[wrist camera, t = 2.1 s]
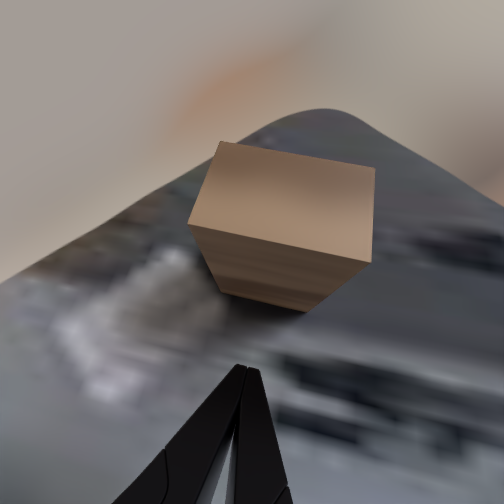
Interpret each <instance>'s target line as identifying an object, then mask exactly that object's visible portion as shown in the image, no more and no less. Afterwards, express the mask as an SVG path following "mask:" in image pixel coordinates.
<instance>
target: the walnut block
mask: <svg viewBox="0 0 504 504" xmlns="http://www.w3.org/2000/svg"><path fill="white" fill-rule="evenodd" d="M374 182H375V168H372V167H366V166H360V165H354V164H349V163H343V162H337V161H332V160H326V159H320V158H315V157H309V156H303V155H298V154H292V153H286V152H281V151H275V150H269V149H263V148H258V147H252V146H246V145H241V144H235V143H229V142H223V141H220V142H219V145H218V148H217V150H216V153H215V155H214V157H213V160H212V163H211V165H210V168H209V170H208V173H207V175H206V178H205V180H204V183H203V185H202V188H201V190H200V193H199V195H198V198H197V200H196V203H195V205H194V208H193V211H192V213H191V216H190V218H189V221H188V223H187V224H188V226H189V228H190V230H191V232H192V234H193V236H194V238H195V240H196V242H197V244H198V246H199V248H200V250H201V252H202V255H203V257H204V259H205V261H206V263H207V265H208V267H209V269H210V271H211V273H212V275H213V277H214V279H215V281H216V283H217V285H218V287H219V289H220V291H221V292H222V293H226V294H230V295H234V296H238V297H243V298H247V299H251V300H255V301H260V302H264V303H268V304H272V305H277V306H281V307H285V308H289V309H293V310H298V311H302V312H306V313H307V312H309V311H310V310H311V309H312V308H314V307H315V306H316V305H318V304H319V303H320V302H321V301H323V300H324V299H325V298H326V297H328V296H329V295H330V294H332V293H333V292H334V291H335V290H337V289H338V288H339V287H340V286H342V285H343V284H344V283H346V282H347V281H348V280H349V279H351V278H352V277H353V276H354V275H356V274H357V273H358V272H360V271H361V270H362V269H363V268H365V267H366V266H367V265H368V264H370V263H371V251H372V228H373V205H374Z"/></svg>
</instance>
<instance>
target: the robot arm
mask: <svg viewBox="0 0 504 504" xmlns="http://www.w3.org/2000/svg"><path fill="white" fill-rule="evenodd" d="M235 424H236V425H235ZM234 429H235V430H234ZM233 433H234V435H233ZM232 437H233V441H232ZM231 441H232V448H231V457H230V465H229V474H228V483H227V492H226V500H225V504H293V501H292V497H291V493H290V489H289V487H288V486H287V485H288V482H287V478H286V474H285V470H284V466H283V462H282V458H281V454H280V450H279V446H278V442H277V438H276V434H275V430H274V426H273V422H272V418H271V414H270V410H269V406H268V402H267V398H266V393H265V389H264V385H263V381H262V377H261V373H260V371H259V369H255V368H252V367H248V369H247V366H244V365H240V364H236V365H235V366H234V367H233V368H232V369H231V370H230V372H229V373H228V374H227V375H226V376H225V377H224V379H223V380H222V381H221V382H220V383H219V384H218V385H217V387H216V388H215V389H214V390H213V391H212V392H211V394H210V395H209V396H208V397H207V398H206V399H205V401H204V402H203V403H202V404H201V405H200V406H199V408H198V409H197V410H196V411H195V412H194V413H193V414H192V416H191V417H190V418H189V419H188V420H187V421H186V423H185V424H184V425H183V426H182V427H181V428H180V430H179V431H178V432H177V433H176V434H175V435H174V436H173V438H172V439H171V440H170V441H169V442H168V443H167V445H166V446H165V449H162V450H161V451H160V453H159V454H158V455H157V456H156V457H155V458H154V459H153V461H152V462H151V463H150V464H149V465H148V466H147V467H146V468H145V469H144V471H143V472H142V473H141V474H140V475H139V476H138V477H137V478H136V479H135V480H134V481H133V482H132V484H131V485H130V486H129V487H128V488H127V489H126V490H125V491H124V492H123V493H122V494H121V495H120V496H119V497H118V498H117V499H116V500H115V501H114V502H113V503H112V504H211V501H212V498H213V495H214V492H215V489H216V486H217V483H218V480H219V477H220V474H221V471H222V468H223V465H224V462H225V459H226V456H227V453H228V450H229V447H230V444H231Z"/></svg>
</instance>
